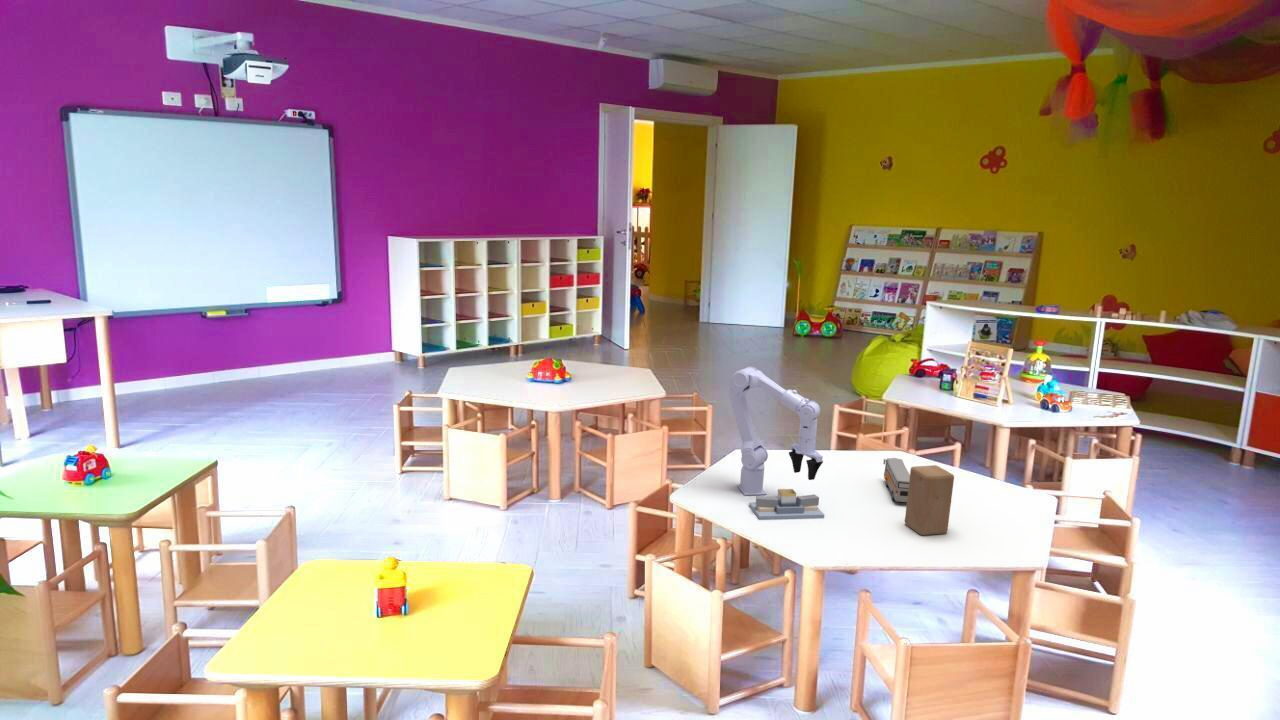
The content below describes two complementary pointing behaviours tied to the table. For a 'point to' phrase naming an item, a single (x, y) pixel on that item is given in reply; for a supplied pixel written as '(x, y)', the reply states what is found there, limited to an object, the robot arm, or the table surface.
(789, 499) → the tan and white block
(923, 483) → the wooden block
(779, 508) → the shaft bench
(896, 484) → the toy bus
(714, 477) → the table surface
